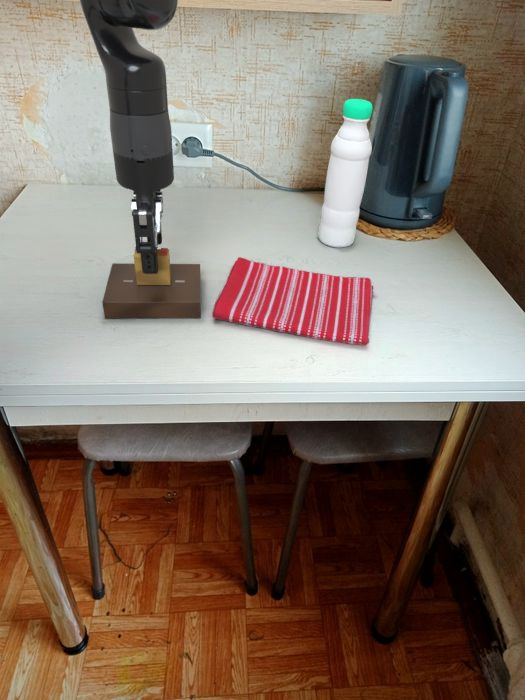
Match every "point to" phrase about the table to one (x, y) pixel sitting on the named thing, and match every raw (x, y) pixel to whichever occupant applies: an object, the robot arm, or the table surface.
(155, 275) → the yellow milk carton
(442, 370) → the table surface
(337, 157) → the water bottle
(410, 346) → the table surface
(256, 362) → the table surface
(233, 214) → the table surface
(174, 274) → the lock plate
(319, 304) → the dish towel
